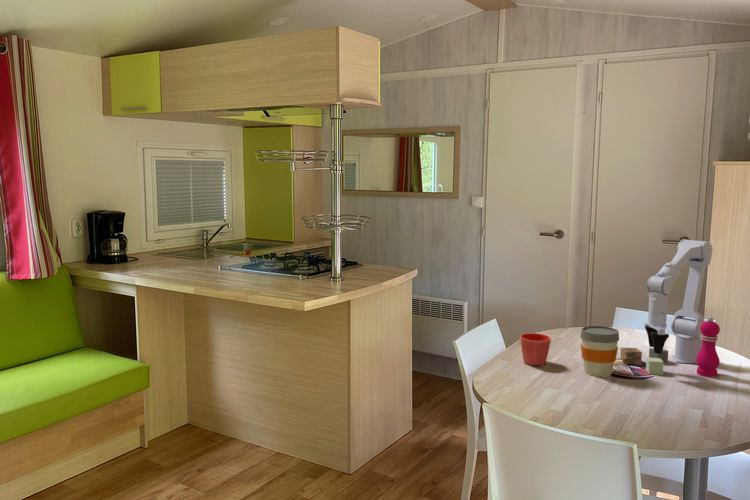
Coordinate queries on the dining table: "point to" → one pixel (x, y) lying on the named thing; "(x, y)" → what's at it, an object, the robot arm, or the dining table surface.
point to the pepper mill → (708, 349)
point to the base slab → (631, 361)
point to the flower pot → (535, 348)
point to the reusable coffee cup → (599, 349)
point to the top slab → (631, 353)
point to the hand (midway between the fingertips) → (655, 349)
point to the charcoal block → (659, 355)
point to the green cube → (654, 366)
